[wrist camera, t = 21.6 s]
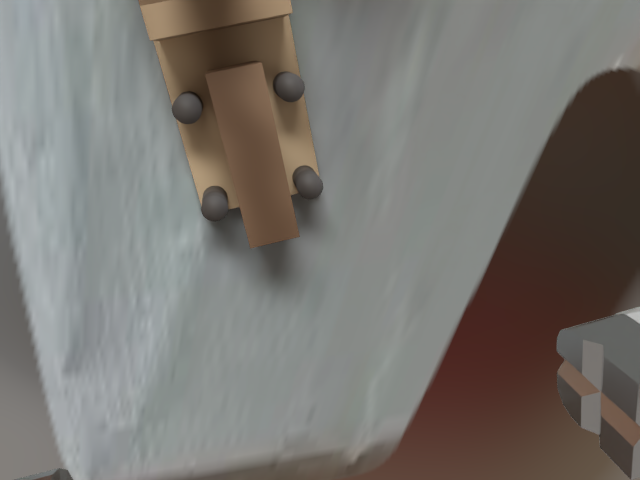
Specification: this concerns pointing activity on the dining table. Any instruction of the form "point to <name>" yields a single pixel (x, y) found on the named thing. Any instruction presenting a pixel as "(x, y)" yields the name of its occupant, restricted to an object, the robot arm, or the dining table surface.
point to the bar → (253, 151)
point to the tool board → (220, 51)
